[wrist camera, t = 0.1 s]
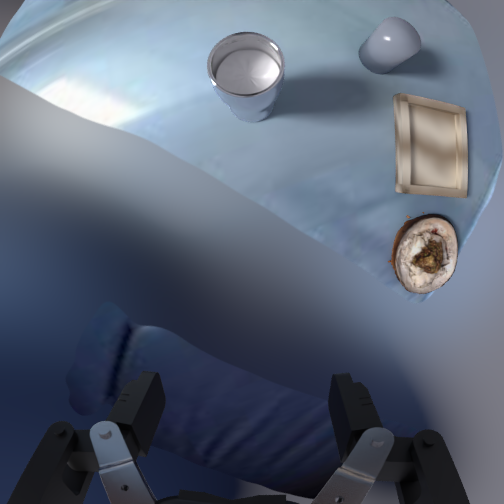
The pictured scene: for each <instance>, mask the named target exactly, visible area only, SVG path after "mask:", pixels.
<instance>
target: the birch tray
mask: <svg viewBox="0 0 504 504" xmlns="http://www.w3.org/2000/svg"><path fill="white" fill-rule="evenodd" d="M393 103H394V118H395V142H396V189H395V192H399V193H407V194H422V195H435V196H447V197H458V198H467V182H468V146H467V125H466V112H465V108H463V107H460V106H456V105H453V104H449V103H445V102H441V101H437V100H432V99H428V98H424V97H419V96H414V95H409V94H404V93H399V94H397V95H395V96H393Z"/></svg>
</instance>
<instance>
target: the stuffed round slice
mask: <svg viewBox="0 0 504 504" xmlns="http://www.w3.org/2000/svg"><path fill="white" fill-rule="evenodd" d="M423 213H424V212H423ZM406 217H407V218H410V217H409V216H408V215H407V216H406ZM457 257H458V241H457V235H456V232H455V230H454V227H453V225H452V224H451V222H450V221H449V220H447V219H446V218H445V217H443V216H440V215H435V214H428V215H423V216H420V217H417V218H415V219H412V220H408V221H406V222H405V223H404V226H403V227H401V228H400V230H399V231H398V233H397V235H396V237H395V240H394V245H393V249H392V260H391V261H388V262H391V265H393V269H394V270H395V274H396V276H397V278H398V280H399V281H400V283H401V284H402V285H403V286H404V287H405V289H406V290H407V291H409V292H413V293H419V294H426V293H429V292H432V291H434V290H436V289H438V288H439V287H442V286H443V285H444V284H445V283H446V282H447V281H448V280H449V279H450V277H451V276H452V274H453V273H454V271H455V267H456V263H457Z"/></svg>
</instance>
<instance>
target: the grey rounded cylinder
mask: <svg viewBox="0 0 504 504" xmlns="http://www.w3.org/2000/svg"><path fill="white" fill-rule="evenodd" d="M420 48H421V39H420V36H419V34H418V32H417V31H416V29H415V28H414V27H413V26H412V25H411V24H410V23H408V22H407V21H405V20H403V19H401V18H397V17H388V18H386V19H384V20H383V21H382V23H381V24H380V25H379V26H378V27H377V28H376V29H375V31H374V32H373V33H372V34H371V35H370V36H369V37H368V39H367V40H366V41H365V42H364V43H363V44H362V46H361V47H360V49H359V57H360V60H361V62H362V64H363V65H364V66H365V67H366V68H367V69H368V70H370V71H371V72H374V73H376V74H386V73H388V72H390V71H391V70H392V69H394V68H395V67H397V66H398V65H400V64H401V63H403V62H404V61H406V60H407V59H408V58H410V57H411V56H413V55H414V54H416V53H417V52H418V51H419V50H420Z"/></svg>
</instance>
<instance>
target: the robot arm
mask: <svg viewBox="0 0 504 504" xmlns="http://www.w3.org/2000/svg"><path fill="white" fill-rule="evenodd" d="M165 401H166V400H165V393H164V390H163V386H162V382H161V378H160V375H159V373H158V372H148V371H143V372H142V373H141V374H140V376H139V378H138V380H132V381H131V382H129V383H128V384H127V385H126V386H125V387H124V389H123V391H122V392H121V395H120V396H119V398H118V401H116V403H115V405H114V407H113V408H112V410H111V412H110V414H109V416H108V418H107V419H106V421H102V422H99V423H97V424H95V425H94V426H93V427H92V428H91V430H74V428H73V426H72V425H71V424H70V423H68V422H65V421H59V422H56V423H54V424H52V425H51V426H50V427H49V428H48V430H47V432H46V433H45V435H44V437H43V438H42V440H41V442H40V443H39V445H38V447H37V449H36V451H35V452H34V454H33V456H32V458H31V459H30V461H29V463H28V464H27V466H26V468H25V470H24V472H23V474H22V475H21V477H20V479H19V481H18V483H17V485H16V487H15V489H14V491H13V493H12V495H11V497H10V499H9V501H8V503H7V504H83V501H84V498H85V496H86V493H87V491H88V488H89V485H90V483H91V480H92V477H93V475H94V472H99V474H100V477H101V479H102V482H103V485H104V487H105V490H106V492H107V495H108V497H109V500H110V502H111V504H299V503H296V502H292V501H286V495H258V496H253V497H247V498H241V499H235V500H229V499H226V498H222V497H218V496H215V495H212V494H208V493H205V492H196V491H187V490H180V491H179V495H178V496H170V497H166V498H163V499H160V500H158V501H157V499H156V498H155V496H154V495H153V493H152V491H151V490H150V488H149V486H148V484H147V482H146V480H145V478H144V476H143V475H142V472H141V471H140V469H139V466H138V464H137V462H136V459H137V457H138V456H143V457H146V456H147V454H148V451H149V448H150V445H151V443H152V440H153V437H154V435H155V432H156V429H157V426H158V424H159V421H160V418H161V416H162V413H163V410H164V408H165ZM328 406H329V412H330V416H331V421H332V425H333V429H334V433H335V438H336V442H337V447H338V451H339V456H340V460H341V463H342V462H344V464H343V465H342V467H339V468H338V469H337V470H336V472H335V473H334V474H333V476H332V477H331V478H330V480H329V481H328V482H327V484H326V485H325V486H324V488H323V489H322V490H321V492H320V493H319V494H318V495H317V497H316V498H315V499H314V500H313V502H312V503H311V504H361V503H362V501H363V500H364V498H365V496H366V495H367V493H368V491H369V490H370V488H371V486H372V485H373V483H374V481H375V480H376V481H394V482H395V486H396V490H397V495H398V499H399V503H400V504H470V503H469V500H468V497H467V495H466V492H465V489H464V487H463V484H462V482H461V479H460V477H459V474H458V472H457V469H456V467H455V465H454V462H453V460H452V458H451V455H450V453H449V451H448V449H447V446H446V444H445V442H444V440H443V437H442V436H441V435H440V434H439V433H438V432H436V431H434V430H422V431H420V432H418V433H417V434H416V435H415V437H414V438H405V437H396V436H393V434H392V433H391V432H390V431H389V430H387V429H385V428H383V426H382V423H381V421H380V418H379V416H378V413H377V411H376V408H375V406H374V404H373V401H372V399H371V396H370V394H369V391H368V389H367V388H366V387H365V386H364V385H363V384H362V383H361V382H357V383H353V381H352V378H351V376H350V373H341V374H333V376H332V380H331V386H330V393H329V399H328Z"/></svg>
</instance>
